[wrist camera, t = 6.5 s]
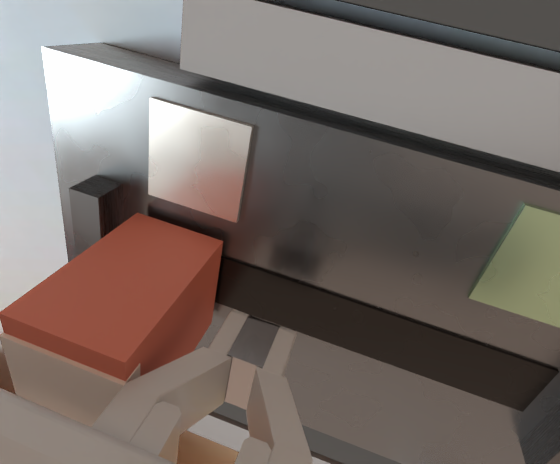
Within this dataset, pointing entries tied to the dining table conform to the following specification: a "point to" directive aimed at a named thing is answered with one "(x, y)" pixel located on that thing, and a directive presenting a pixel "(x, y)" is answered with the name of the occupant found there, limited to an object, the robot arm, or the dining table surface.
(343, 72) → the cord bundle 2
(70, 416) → the block
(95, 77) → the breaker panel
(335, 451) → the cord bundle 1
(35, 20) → the dining table surface
